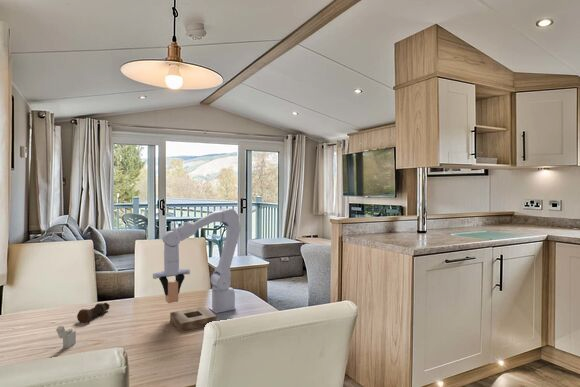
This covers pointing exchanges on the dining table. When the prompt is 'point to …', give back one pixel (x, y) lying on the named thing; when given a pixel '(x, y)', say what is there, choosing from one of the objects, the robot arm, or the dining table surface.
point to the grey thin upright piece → (67, 336)
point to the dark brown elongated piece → (92, 312)
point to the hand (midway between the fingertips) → (171, 293)
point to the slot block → (192, 318)
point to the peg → (172, 291)
